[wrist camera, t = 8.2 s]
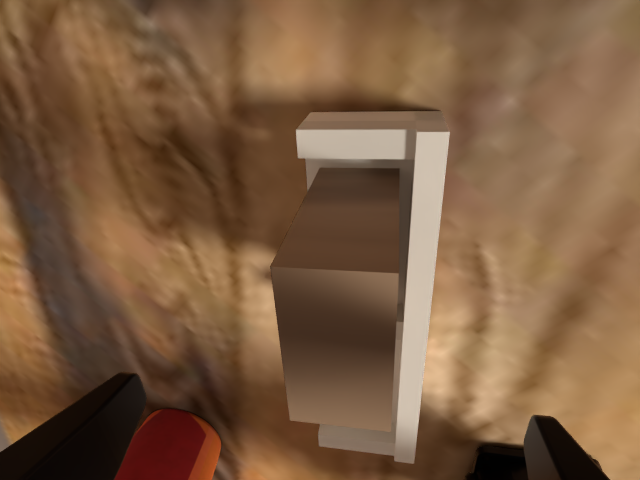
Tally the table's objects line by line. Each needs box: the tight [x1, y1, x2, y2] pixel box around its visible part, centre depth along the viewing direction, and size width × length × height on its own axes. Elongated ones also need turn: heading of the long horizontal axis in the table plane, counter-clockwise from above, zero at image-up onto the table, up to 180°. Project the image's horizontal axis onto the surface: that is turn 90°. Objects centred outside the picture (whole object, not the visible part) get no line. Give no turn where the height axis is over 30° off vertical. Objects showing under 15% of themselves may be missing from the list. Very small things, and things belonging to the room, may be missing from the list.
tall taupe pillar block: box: [270, 168, 400, 432], centre depth 14 cm, size 6×3×7 cm, turn 3°
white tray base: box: [296, 111, 450, 464], centre depth 19 cm, size 5×17×3 cm, turn 3°
